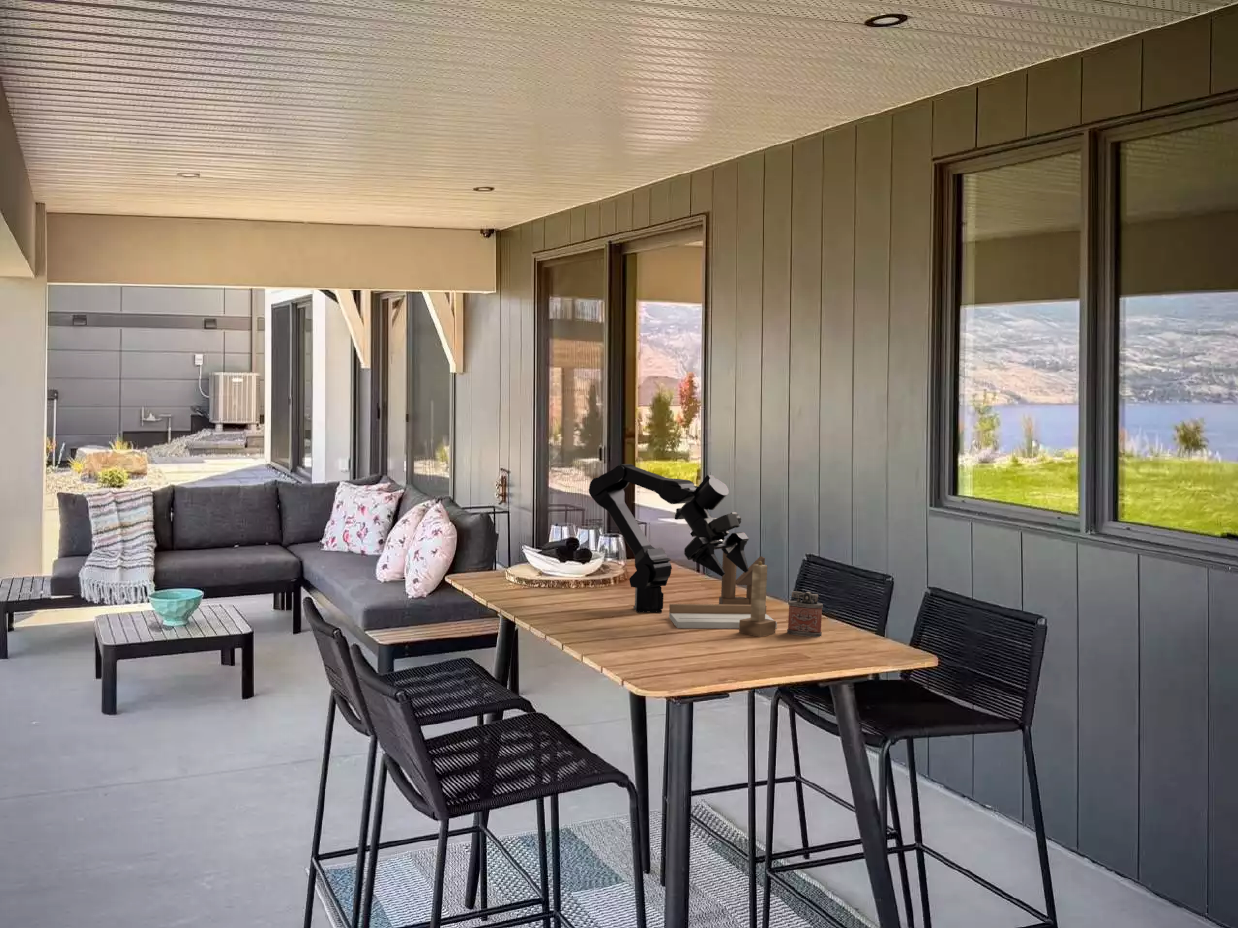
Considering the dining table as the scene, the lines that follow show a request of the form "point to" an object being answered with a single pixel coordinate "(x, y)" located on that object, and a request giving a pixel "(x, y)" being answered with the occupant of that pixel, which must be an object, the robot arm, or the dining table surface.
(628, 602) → the dining table surface
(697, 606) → the board
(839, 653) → the dining table surface
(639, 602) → the robot arm
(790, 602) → the lighter
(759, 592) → the wooden post on base
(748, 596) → the brown wooden block structure
